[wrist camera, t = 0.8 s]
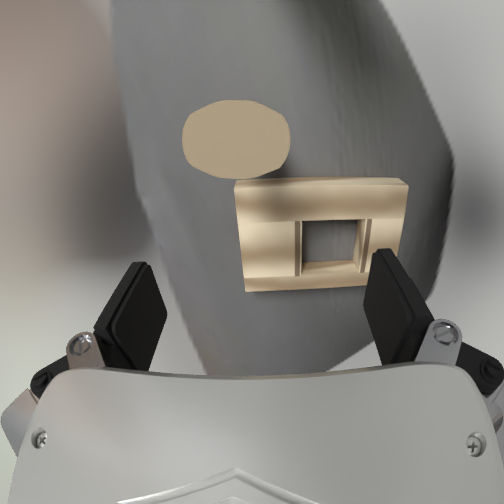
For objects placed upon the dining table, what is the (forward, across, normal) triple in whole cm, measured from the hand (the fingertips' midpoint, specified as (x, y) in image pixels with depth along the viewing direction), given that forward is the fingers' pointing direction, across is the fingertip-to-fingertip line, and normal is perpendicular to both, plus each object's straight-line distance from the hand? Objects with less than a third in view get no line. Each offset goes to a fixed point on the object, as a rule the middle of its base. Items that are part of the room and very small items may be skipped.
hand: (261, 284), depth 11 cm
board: (+22, -6, +10) cm, 25 cm away
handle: (+23, +1, -4) cm, 23 cm away
